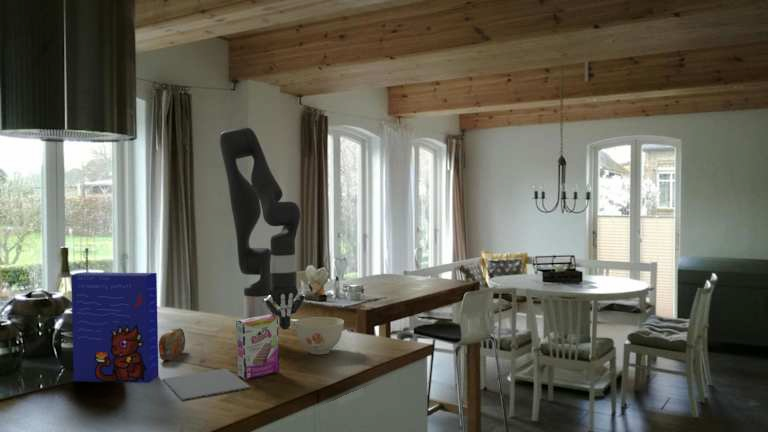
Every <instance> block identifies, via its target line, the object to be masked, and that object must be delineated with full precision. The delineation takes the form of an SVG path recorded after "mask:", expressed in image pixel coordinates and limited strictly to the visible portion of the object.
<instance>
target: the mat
mask: <svg viewBox="0 0 768 432" xmlns="http://www.w3.org/2000/svg"><path fill="white" fill-rule="evenodd" d="M162 382H164V383H165V384H166V386H167V385H168V386H167V387H168V388H169V389H170V388H171V389H172V390H173V391H172V390H171V389H170V390H171V391H172V392H173V393H174V394H175V395H176V397H178V399H180V401H182V400H184V401H187V400H186V399H190V398H195V399H197V398H196V397H200V396H206V395H211V394H217V393H222V392H228V393H230V392H229V391H233V392H236V391H235V390H238V391H243V390H242V389H244V390H248V389H247V388H249V389H251V386H250V385H249V384H248V383H246V382H245V380H243V379H242V378H240V377H239V376H238V375H236V374H234V373H233V372H231V371H230V370H229V369H227V368H221V369H215V370H209V371H203V372H197V373H191V374H184V375H179V376H173V377H166V378H162ZM222 394H223V393H222ZM217 395H218V394H217ZM211 396H212V395H211ZM206 397H207V396H206ZM190 400H191V399H190Z"/></svg>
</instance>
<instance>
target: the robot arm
mask: <svg viewBox="0 0 768 432" xmlns="http://www.w3.org/2000/svg"><path fill="white" fill-rule="evenodd" d="M219 146H220V147H219V148H220V151H221V156H222V160H223V166H224V168H225V172H226V179H227V185H228V191H229V199H230V206H231V212H232V217H233V223H234V229H235V236H236V245H237V246H236V247H237V258H238V266H239V270H240V272H241V273H242V274H243V275H245V276H246V275H247V276H250V275H252V276H259V275H260V276H259V280H257V281H255V282H254V283H251V284H248V285H246V286H245V287H244V289H243V295H244V296H243V301H244V302H243V305H244V306H243V309H244V311H243V313H244V314H243V315H244V318H243V319H247V318H253V317H258V316H264V315H273V316H276V317H278V327H279V328H281V329H282V330H283V331H284V330H289V328H290V327H291V315H293V314H296V313H297V312H298V310H299V308H300V307H301V305H302V304H303V302H304V300H305V299H306V297H305V295H304V294H301V293H300V292H299V289H298V288H297V286H298V283H297V258H296V243H295V242H296V238H297V237H296V236H297V233H298V227H299V225H300V220H301V210H300V207H299V205H298V204H297V203H296V202H294V201H281V199H282V197H283V194H284V193H283V190H282V188H281V186H280V185H279V183H278V181H277V180H276V179H275V176H274V175H273V172H272V171H271V169H270V167H269V164H268V161H267V158H266V156H265V153H264V151H263V149H262V147H261V144H260V141H259V139H258V137H257V135H256V133H255V132H254V130H253V129H252V128H250V127H248V126H247V127H239V128H234V129H229V130H225V131H222V132H221V133H220V135H219ZM249 157H252V158H253V167H252V170H251V175H250V181H251V183H250V182H249V181H248V179H246V178H245V176H244V175H243V174H242V173H241V171H240V170H239V167H238V164H237V160H240V159H244V158H249ZM261 214H262V217H263V219H264V221H265V223H266V224H267V225H269V226H271V227H282V229H281V231H280V232H279V233H276V234H274V235H272V236H271V238H270V248H267V247H250V238H251V235H252V232H253V231H254V229H255V227H256V226H257V224H258V221H259V220H260V217H261ZM273 303H275V304H276V307H275V305H274V304H273Z"/></svg>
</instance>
